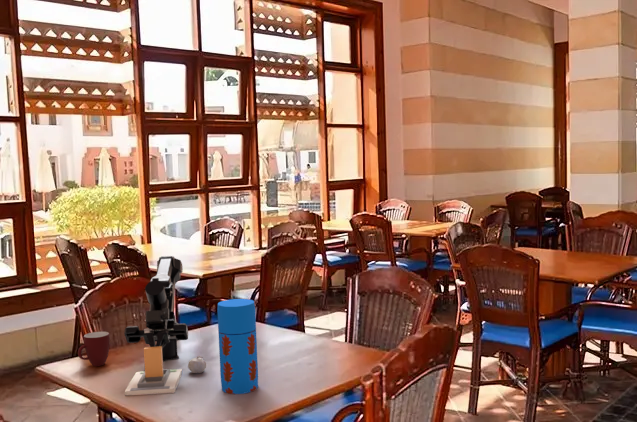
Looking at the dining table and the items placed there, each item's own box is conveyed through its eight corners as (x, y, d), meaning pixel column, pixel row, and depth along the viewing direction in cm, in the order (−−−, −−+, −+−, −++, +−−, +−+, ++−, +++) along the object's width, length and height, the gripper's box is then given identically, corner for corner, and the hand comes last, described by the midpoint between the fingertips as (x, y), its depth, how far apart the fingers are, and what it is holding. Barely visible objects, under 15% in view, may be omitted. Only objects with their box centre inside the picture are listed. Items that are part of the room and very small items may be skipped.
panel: (136, 375, 214) (136, 368, 214) (182, 372, 215) (181, 365, 215) (124, 395, 196) (124, 387, 196) (174, 392, 198) (174, 384, 197)
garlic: (210, 370, 217) (209, 354, 217) (200, 375, 212) (199, 359, 212) (194, 368, 219) (194, 352, 219) (184, 374, 215) (183, 357, 214)
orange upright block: (147, 377, 207) (145, 346, 207) (163, 376, 208) (162, 345, 207) (145, 381, 204) (143, 349, 203) (162, 380, 204) (160, 348, 203)
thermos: (242, 396, 192) (238, 308, 190) (213, 390, 198) (209, 305, 196) (265, 384, 201) (262, 300, 199) (237, 379, 207) (233, 297, 205)
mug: (87, 371, 220) (85, 340, 220) (73, 367, 226) (71, 337, 225) (116, 363, 228) (114, 333, 228) (102, 359, 234) (100, 330, 233)
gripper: (123, 300, 211) (118, 345, 201) (185, 297, 212) (182, 342, 202) (130, 320, 219) (125, 364, 209) (189, 317, 221) (187, 360, 211)
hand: (154, 357), depth 208 cm, fingers closed
